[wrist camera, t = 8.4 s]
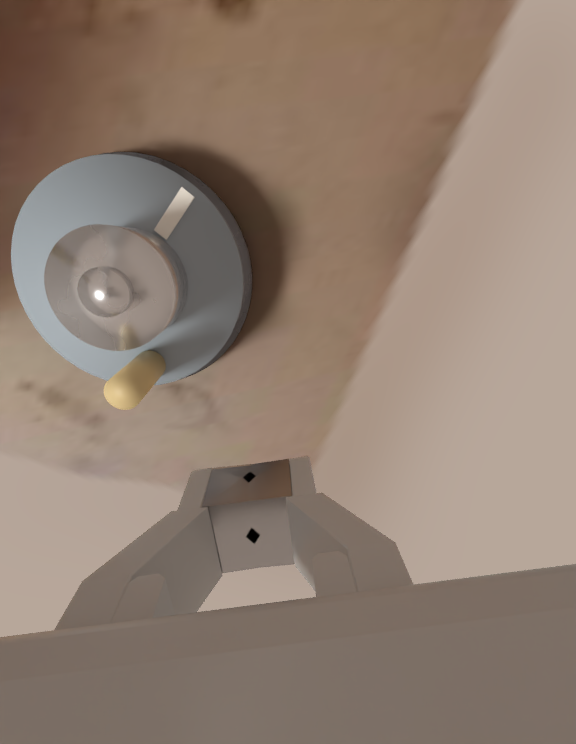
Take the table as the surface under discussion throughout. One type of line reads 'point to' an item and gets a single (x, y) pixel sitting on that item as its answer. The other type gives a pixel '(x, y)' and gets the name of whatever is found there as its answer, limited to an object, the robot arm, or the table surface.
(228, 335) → the turntable
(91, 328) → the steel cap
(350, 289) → the table surface
